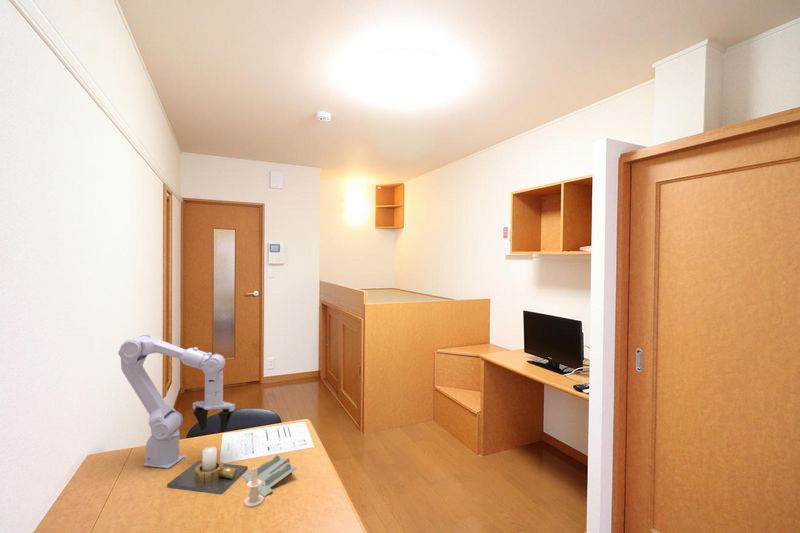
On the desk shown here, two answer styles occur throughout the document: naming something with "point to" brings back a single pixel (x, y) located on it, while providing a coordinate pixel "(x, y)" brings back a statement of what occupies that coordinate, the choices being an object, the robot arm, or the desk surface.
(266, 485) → the metal bracket
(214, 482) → the fitting plate
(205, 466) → the white rounded block
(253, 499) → the beige turned upright piece
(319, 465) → the desk surface
